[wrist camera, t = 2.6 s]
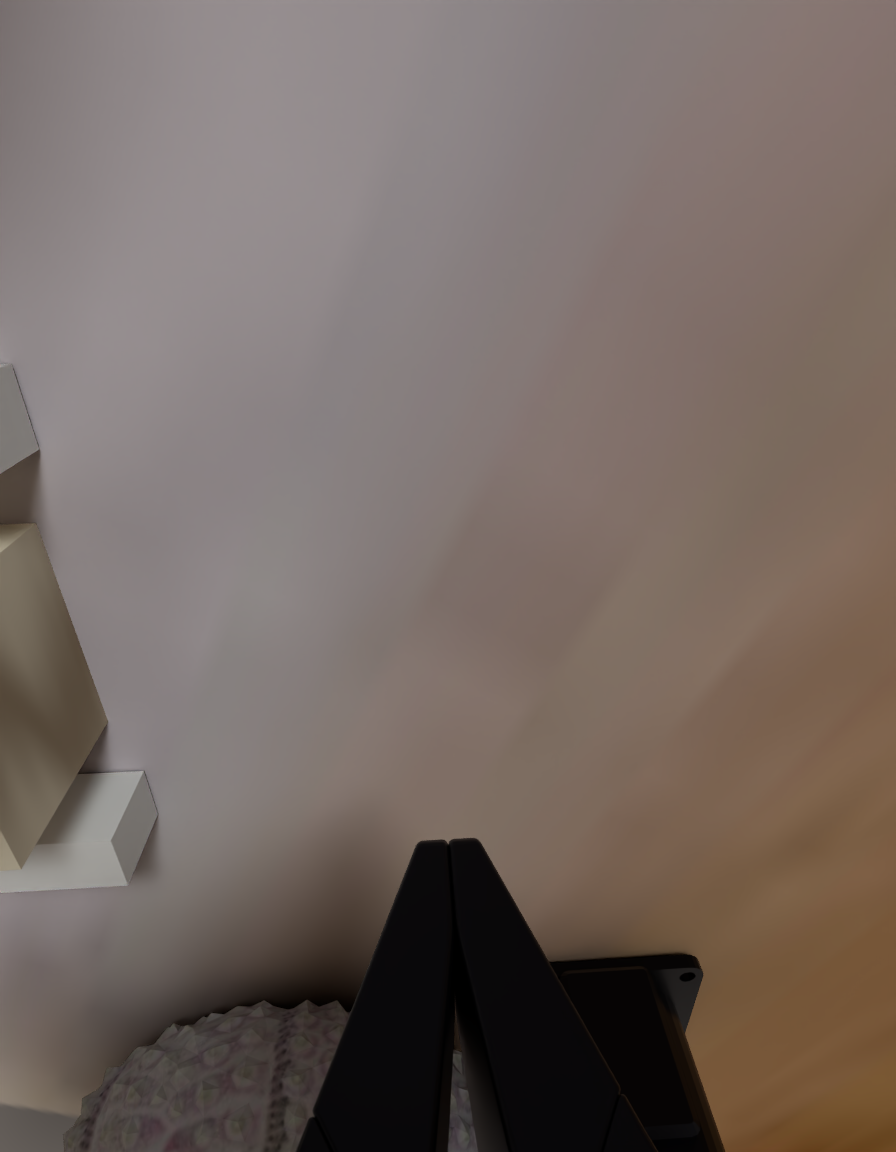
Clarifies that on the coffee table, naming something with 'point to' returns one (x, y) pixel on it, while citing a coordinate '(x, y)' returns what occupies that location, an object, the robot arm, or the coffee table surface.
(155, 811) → the channel
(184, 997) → the coffee table surface
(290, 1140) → the sea urchin shell
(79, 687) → the birch block
